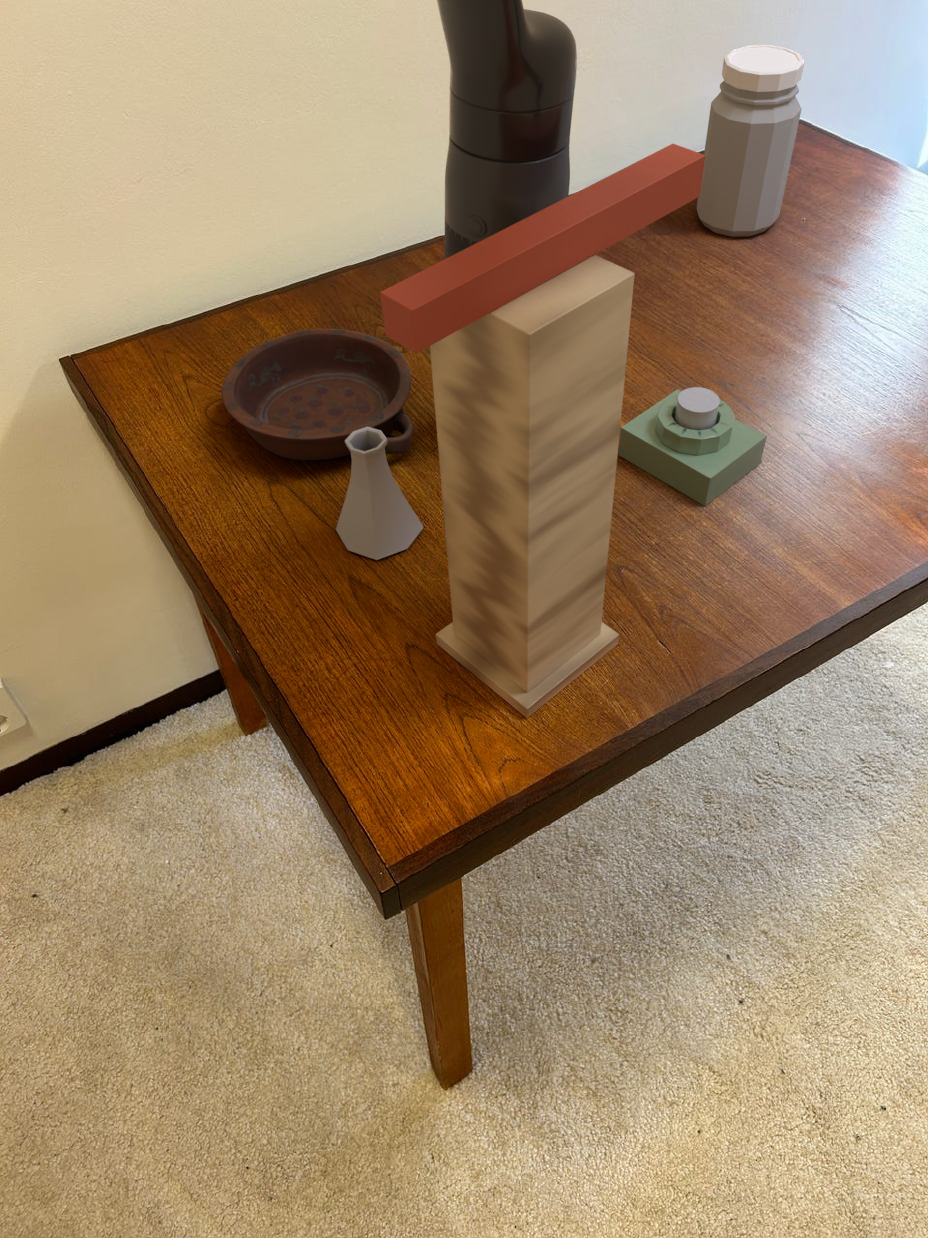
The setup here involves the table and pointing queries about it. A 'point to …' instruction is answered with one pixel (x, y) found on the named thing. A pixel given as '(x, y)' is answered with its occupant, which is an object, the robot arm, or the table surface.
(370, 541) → the flask
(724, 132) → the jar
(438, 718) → the table surface
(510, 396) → the stand
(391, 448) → the dish
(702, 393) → the grey push button
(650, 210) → the rod
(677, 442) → the green button base
